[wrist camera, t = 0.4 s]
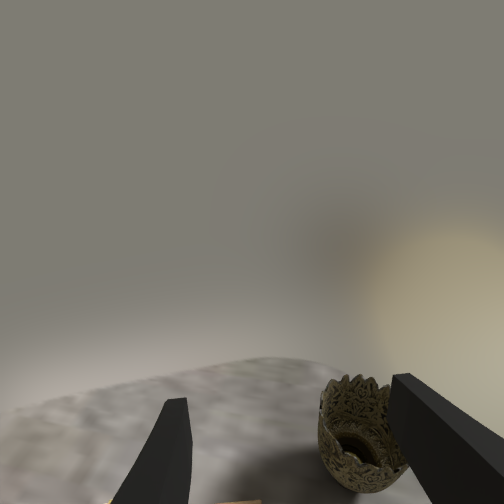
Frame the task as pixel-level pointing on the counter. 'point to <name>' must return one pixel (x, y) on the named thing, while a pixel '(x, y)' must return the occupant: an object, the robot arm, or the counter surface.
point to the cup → (358, 435)
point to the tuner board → (244, 502)
